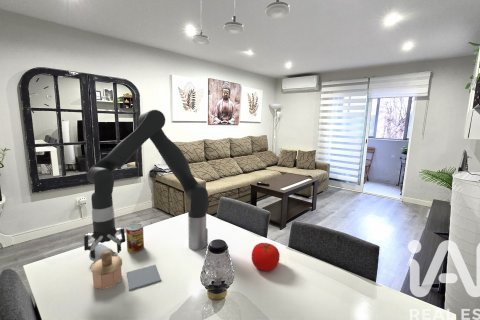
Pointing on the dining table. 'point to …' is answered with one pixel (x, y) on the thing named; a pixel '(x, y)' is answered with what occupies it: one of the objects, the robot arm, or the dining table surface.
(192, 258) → the dining table surface
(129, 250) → the canned food
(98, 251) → the ceramic mug
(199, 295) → the dining table surface
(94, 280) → the bowl
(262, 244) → the tomato
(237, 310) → the dining table surface
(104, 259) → the lid
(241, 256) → the dining table surface
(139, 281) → the mat
